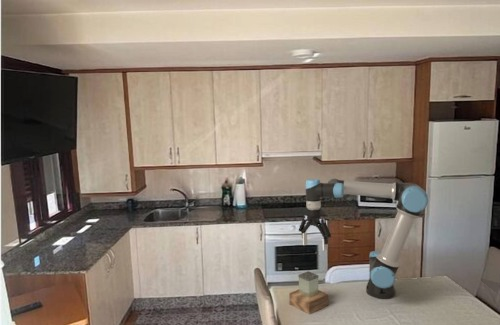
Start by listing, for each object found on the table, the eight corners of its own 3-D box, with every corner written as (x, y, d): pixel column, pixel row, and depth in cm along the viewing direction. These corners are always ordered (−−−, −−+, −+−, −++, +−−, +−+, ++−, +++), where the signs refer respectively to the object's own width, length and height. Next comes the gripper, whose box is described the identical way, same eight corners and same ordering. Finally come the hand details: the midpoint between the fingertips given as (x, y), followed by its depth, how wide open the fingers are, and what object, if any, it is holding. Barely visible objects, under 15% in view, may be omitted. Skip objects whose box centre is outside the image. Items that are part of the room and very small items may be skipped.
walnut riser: (328, 305, 193) (328, 294, 192) (309, 314, 184) (309, 302, 184) (308, 296, 204) (308, 285, 203) (289, 304, 195) (289, 293, 195)
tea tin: (318, 294, 193) (318, 275, 192) (308, 298, 188) (308, 279, 187) (308, 289, 198) (308, 271, 197) (298, 293, 194) (298, 274, 193)
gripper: (291, 206, 205) (292, 244, 207) (328, 212, 186) (329, 254, 188) (300, 204, 210) (301, 240, 212) (337, 210, 191) (338, 250, 193)
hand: (314, 247), depth 200 cm, fingers open, 13 cm apart
